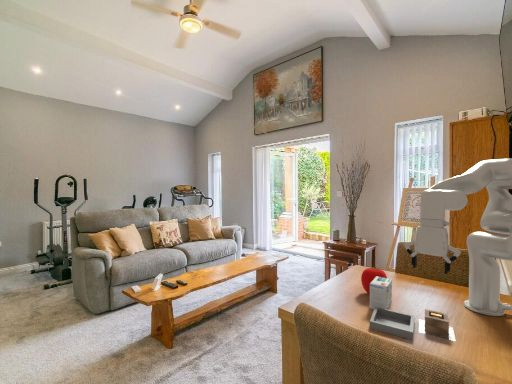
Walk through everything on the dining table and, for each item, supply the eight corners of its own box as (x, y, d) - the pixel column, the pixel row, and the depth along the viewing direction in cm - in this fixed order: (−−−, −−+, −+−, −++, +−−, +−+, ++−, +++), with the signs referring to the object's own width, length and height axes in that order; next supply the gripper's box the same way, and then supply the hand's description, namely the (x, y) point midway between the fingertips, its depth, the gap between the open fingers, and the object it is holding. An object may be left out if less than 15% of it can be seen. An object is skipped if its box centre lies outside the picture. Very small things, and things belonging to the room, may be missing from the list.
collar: (447, 327, 91) (447, 313, 91) (448, 337, 85) (448, 322, 85) (424, 322, 95) (424, 308, 94) (424, 331, 89) (424, 316, 89)
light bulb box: (375, 299, 116) (375, 275, 116) (392, 303, 112) (392, 278, 112) (369, 308, 108) (369, 282, 107) (386, 313, 104) (387, 286, 103)
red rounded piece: (362, 298, 117) (363, 269, 117) (359, 289, 128) (359, 263, 127) (390, 301, 114) (390, 272, 114) (384, 291, 125) (385, 265, 125)
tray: (414, 324, 95) (414, 315, 95) (412, 343, 84) (413, 332, 84) (375, 315, 102) (375, 306, 102) (369, 330, 91) (369, 321, 91)
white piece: (452, 329, 92) (453, 312, 91) (455, 344, 83) (456, 325, 83) (419, 321, 97) (419, 305, 97) (418, 334, 89) (419, 316, 88)
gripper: (462, 225, 93) (460, 273, 93) (407, 220, 104) (405, 263, 104) (461, 227, 87) (459, 278, 87) (402, 222, 98) (401, 267, 99)
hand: (430, 270), depth 96 cm, fingers open, 9 cm apart
